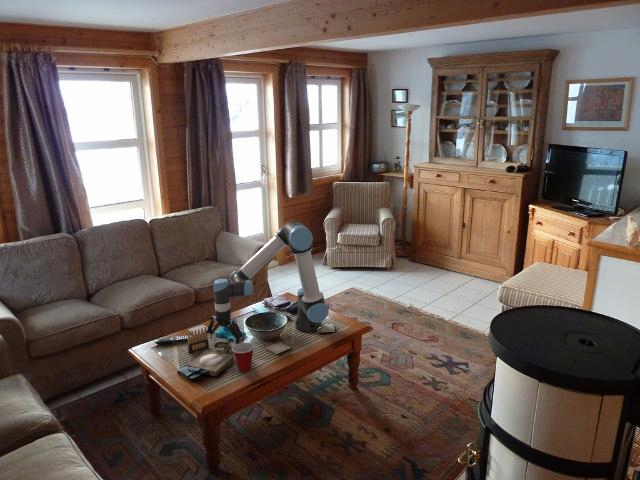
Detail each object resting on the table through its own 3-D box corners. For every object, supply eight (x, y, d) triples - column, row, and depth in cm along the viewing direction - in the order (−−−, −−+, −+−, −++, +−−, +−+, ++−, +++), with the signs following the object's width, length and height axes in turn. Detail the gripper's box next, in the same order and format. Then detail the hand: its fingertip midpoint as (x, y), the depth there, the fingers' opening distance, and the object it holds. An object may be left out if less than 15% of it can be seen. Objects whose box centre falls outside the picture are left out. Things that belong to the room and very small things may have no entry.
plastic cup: (248, 360, 238) (247, 339, 235) (260, 369, 230) (258, 347, 227) (229, 368, 232) (227, 345, 229) (240, 377, 224) (238, 354, 220)
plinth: (234, 360, 239) (234, 354, 238) (215, 376, 225) (215, 370, 224) (207, 354, 245) (207, 348, 244) (187, 369, 231) (187, 364, 230)
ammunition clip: (189, 353, 246) (187, 332, 243) (188, 352, 248) (186, 330, 244) (209, 347, 252) (207, 326, 248) (207, 346, 253) (206, 325, 250)
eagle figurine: (224, 344, 253) (211, 348, 245) (230, 335, 250) (217, 339, 242) (232, 355, 249) (219, 359, 242) (238, 346, 246) (225, 350, 239)
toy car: (234, 344, 256) (234, 333, 254) (210, 336, 265) (209, 325, 263) (248, 336, 264) (247, 325, 263) (224, 328, 274) (223, 317, 272)
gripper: (248, 310, 240) (250, 348, 246) (206, 302, 250) (209, 339, 255) (240, 316, 233) (242, 355, 239) (197, 308, 243) (201, 346, 249)
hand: (225, 347), depth 247 cm, fingers open, 13 cm apart
